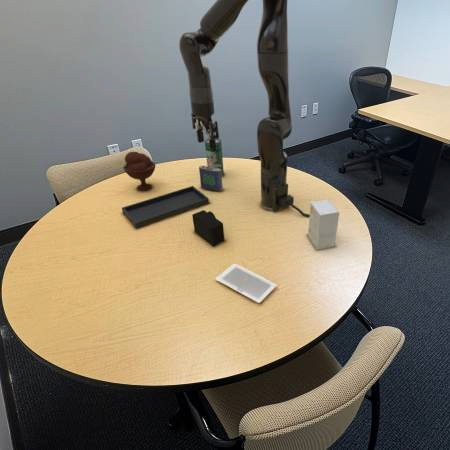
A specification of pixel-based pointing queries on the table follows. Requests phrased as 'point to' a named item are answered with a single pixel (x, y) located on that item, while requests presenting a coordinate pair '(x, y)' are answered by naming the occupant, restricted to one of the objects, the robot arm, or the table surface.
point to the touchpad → (246, 282)
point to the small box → (323, 224)
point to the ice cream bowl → (139, 168)
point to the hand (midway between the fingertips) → (206, 145)
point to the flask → (210, 178)
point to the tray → (164, 206)
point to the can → (215, 155)
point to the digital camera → (208, 227)
